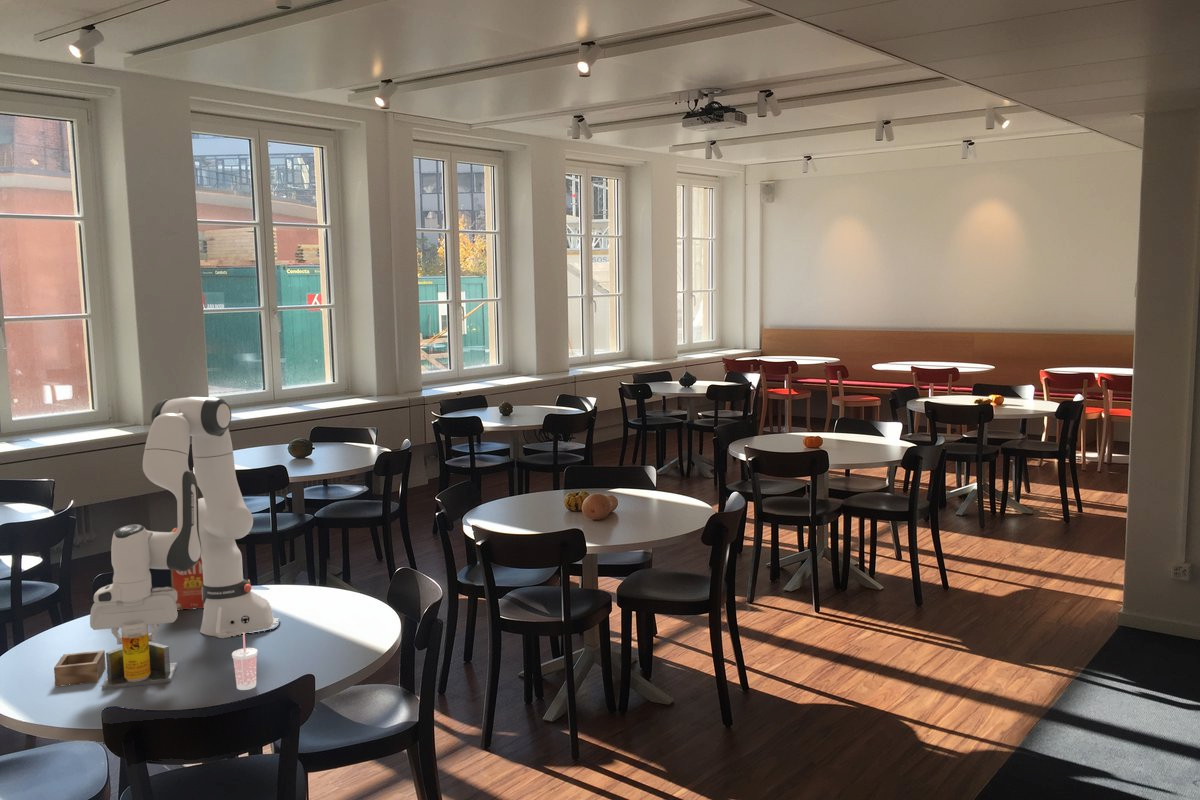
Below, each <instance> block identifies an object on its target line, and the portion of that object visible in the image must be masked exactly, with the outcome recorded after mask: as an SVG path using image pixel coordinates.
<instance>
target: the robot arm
mask: <svg viewBox="0 0 1200 800" xmlns="http://www.w3.org/2000/svg"><path fill="white" fill-rule="evenodd" d="M150 420H151V421H150V423H151V426H150V428H149V431H148V434H147V437H146V441H145V446H144V452H143V457H142V471H143V474H144V475H145V477H146V478H147V479H148V480H149V482H151V483H153V484H154V485H156V486H158V487H160V488H163V489H165V490H167V491H169V492H170V493H172V494H173V495H174V496H175V499H176V502H177V503H176V504H177V512H176V513H177V515H176V516H177V527H176V528H177V531H176V532H171V531H169V532H167V531H153V530H148V529H146V528H145V526H143V525H141V524H128V525H125V526H121V527H119V528H117V529H116V530H115V531H114V532H113V535H112V539H111V549H110V553H111V566H112V568H113V575H112V583H111V584H107V585H105V586H102V587H100V588H98V590H97V591H95V593H94V595H93V602H94V603H93V604H92V606H91V608H90V614H89V615H90V616H89V626H90V628H91V629H92V630H94V631H99V630H111V634H112V635H113V636H114V637H115V639H116V644H117V645H119V646H120V645H122V634H120V632H119V630H120V629H121V627H122V625H123V624H131V623H132V624H133V623H135V624H136V623H142V622H144V623H145V624H146V625H148V626H151V629H153V630H152V631H151V632H148V641H149V642H154V641H155V639H156V637H155V633H156V632H157V630H158V628H159V626H160V625H162V624H172V623H174V622H175V621H176V620H177V619H178V617H179V616H178V611H177V606H176V601H177V591H176V590H175V589H173V588H172V587H171V586H164V587H163V586H161V587H160V586H159V587H153V585H152V574H151V573H152V572H151V571H150V569H153V570H170V569H171V570H177V571H187V570H189V569H190V568H192V567H193V566H194V565H195V564H196V563H197V562H198V561H199V559H200V556H201V559H202V570H203V585H202V600H203V603H204V609H203V612H202V621H201V625H200V630H199V632H200V633H201V634H203V635H206V636H210V637H217V638H219V639H227V638H232V637H231V636H233V637H237V636H236V635H239V636H242V635H241V634H243V633H249V632H253V631H258V630H263V629H269V628H272V627H274V626H276V625H277V624H276V625H271V624H274V623H278V622H276V621H278V619H279V618H274V617H273V615H272V614H273V610H272V606H271V605H270V604H271V603H270V602H269V601H268V599H266V598H264V597H262V596H261V595H259V594H257V593H255V592H253V591H252V585H251V581H250V579H245V578H244V573H243V556H242V552H241V550H240V548H239V547H238V545H237V542H236V540H240V539H242V538H244V537H246V536H247V535H248V534H249V533H250V532H251V531H252V529H253V525H254V517H253V514H252V512H251V511H250V510H249V508H248V507H247V504H246V503H245V500H244V498H243V495H242V492H241V489H240V486H239V483H238V479H237V474H236V466H235V457H234V449H233V443H232V438H231V432H230V430H229V426H230V425H231V421H232V410H231V407H230V405H229V404H228V403H227V401H226V400H225V399H223V398H220V397H215V396H209V397H205V396H188V397H180V398H179V397H177V398H166V399H163V400H160V401H158V402H157V403H156V404H155V406H154V407H153V408H152V410H151V415H150ZM190 438H191V439H190ZM190 445H191V450H192V451H191V453H192V461H193V469H194V474H193V472H191V470H190V467H189V466H190V465H189V454H190ZM198 488H199V489H198ZM199 490H200V493H201V494H202V497H200V498H199ZM171 570H170V571H171Z"/></svg>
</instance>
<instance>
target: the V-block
mask: <svg viewBox="0 0 1200 800" xmlns="http://www.w3.org/2000/svg"><path fill="white" fill-rule="evenodd" d="M149 655H150V671H151V673H150V675H149V677H148V678H147V679H145V680H142V681H137V682H129V681H127V679H126V678H125V677H124V662H123V647H122V646H121V647H119V648H116V649H113V650H109V651H107V652H106V653H105V661H106V669H107V670H106V672H107V676H106V678H105V679H104V681H103V683H102V685H101V690H110V689H112V690H113V689H119V688H130V687H138V686H146V685H155V684H156V685H157V684H164V683H171V682H172V679H173V677H174V674H175V672H176V669H177V666H178V662H171V659H170V646H169V645H165V644H162V643H157V642H154V641H149Z"/></svg>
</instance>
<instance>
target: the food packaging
mask: <svg viewBox="0 0 1200 800" xmlns="http://www.w3.org/2000/svg"><path fill="white" fill-rule="evenodd" d="M177 528H178V527H174V528H172V530H171V531H170V532H176V531H177ZM169 570H170V584H171V586H170V587H171V588H173V589H175V590H176V591H177V601H176V606H177V610H178V609H192V610H194V609H193V608H204V603H203V600H202V585H203V570H202V559H201V556H200V559H199V561H198V562H197V563H196V564H195V565H194V566H193V567H192V568H190V569H189V570H187V571H177V570H171V569H169ZM178 611H179V610H178Z"/></svg>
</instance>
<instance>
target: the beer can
mask: <svg viewBox="0 0 1200 800" xmlns="http://www.w3.org/2000/svg"><path fill="white" fill-rule="evenodd" d="M120 630H121V631H120V632H121V636H122V644H121V645H122V646H121V647H123V662H124V677H125V678H126V679H127V681H129V682H137V681H142V680H145V679H147V678H148V677H149V675H150V673H151V671H150V655H149V642H150V641H148V633H149V625H146V624H145V623H144V622H142V623H136V624H135V623H133V624H132V623H131V624H123V625H122V627H121V628H120Z"/></svg>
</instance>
